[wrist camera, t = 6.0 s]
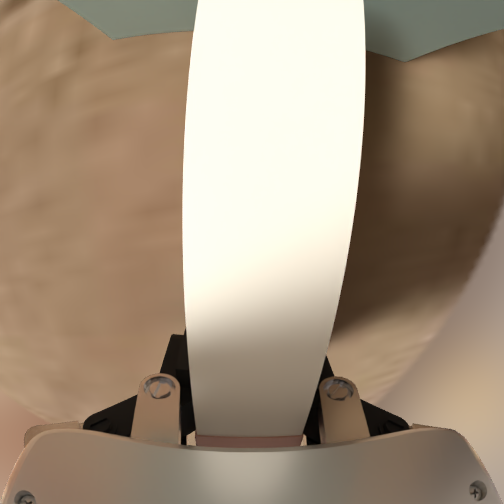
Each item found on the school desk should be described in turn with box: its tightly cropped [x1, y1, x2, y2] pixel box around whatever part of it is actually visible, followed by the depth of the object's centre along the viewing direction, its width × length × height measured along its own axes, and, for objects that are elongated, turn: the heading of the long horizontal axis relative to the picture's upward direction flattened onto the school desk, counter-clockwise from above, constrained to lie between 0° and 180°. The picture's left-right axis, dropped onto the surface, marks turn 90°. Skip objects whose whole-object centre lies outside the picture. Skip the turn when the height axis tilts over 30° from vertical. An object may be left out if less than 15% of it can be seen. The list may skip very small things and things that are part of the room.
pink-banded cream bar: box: [183, 0, 365, 448], centre depth 8 cm, size 13×3×5 cm, turn 176°
